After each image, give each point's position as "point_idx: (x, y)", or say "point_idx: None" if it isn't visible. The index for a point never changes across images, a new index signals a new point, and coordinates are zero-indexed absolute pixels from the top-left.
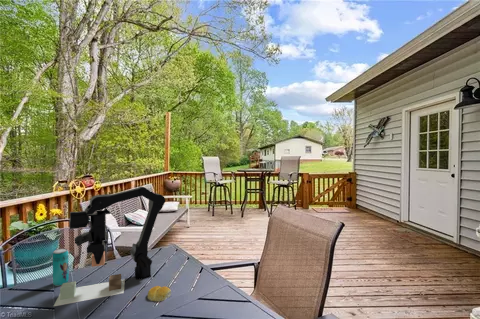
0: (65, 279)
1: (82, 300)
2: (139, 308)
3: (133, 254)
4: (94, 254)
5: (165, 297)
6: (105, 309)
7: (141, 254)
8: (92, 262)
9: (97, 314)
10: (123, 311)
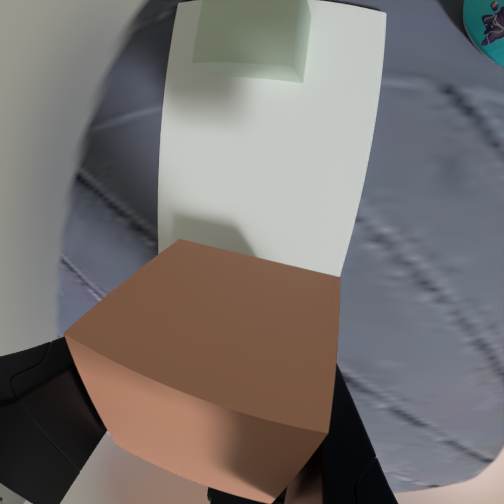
0: (485, 38)
1: (164, 129)
2: (77, 310)
3: (220, 496)
4: (5, 370)
5: None
6: (86, 224)
7: (210, 500)
8: (142, 276)
9: (69, 197)
10: (69, 271)
